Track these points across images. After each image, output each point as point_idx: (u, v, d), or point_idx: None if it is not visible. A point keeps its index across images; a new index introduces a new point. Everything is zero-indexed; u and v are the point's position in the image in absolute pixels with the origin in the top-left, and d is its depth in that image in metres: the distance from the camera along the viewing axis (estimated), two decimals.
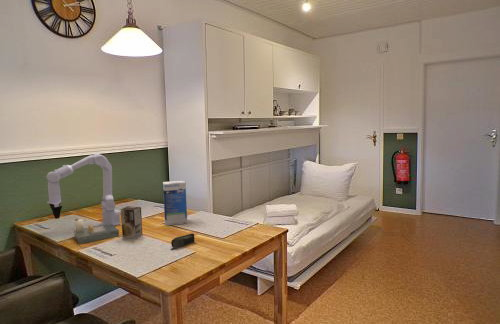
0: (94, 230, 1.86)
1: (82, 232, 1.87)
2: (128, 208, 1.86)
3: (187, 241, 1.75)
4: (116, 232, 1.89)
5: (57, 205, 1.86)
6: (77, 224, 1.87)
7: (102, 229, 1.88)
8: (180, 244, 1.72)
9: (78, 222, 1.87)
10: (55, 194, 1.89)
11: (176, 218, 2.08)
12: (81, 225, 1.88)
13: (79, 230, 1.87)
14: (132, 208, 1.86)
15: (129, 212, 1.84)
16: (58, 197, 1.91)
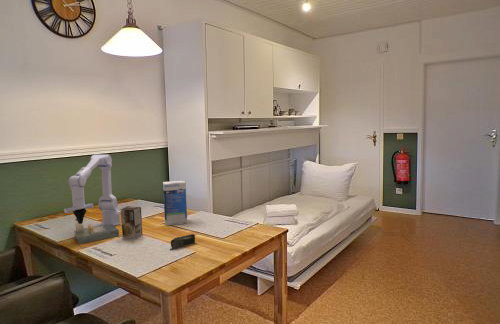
0: (94, 230, 1.86)
1: (82, 232, 1.87)
2: (128, 208, 1.86)
3: (187, 242, 1.74)
4: (116, 232, 1.89)
5: (65, 211, 1.75)
6: (77, 224, 1.87)
7: (102, 229, 1.88)
8: (179, 245, 1.71)
9: None
10: (73, 199, 1.78)
11: (176, 218, 2.08)
12: (81, 225, 1.88)
13: (79, 230, 1.87)
14: (132, 208, 1.86)
15: (129, 212, 1.84)
16: (75, 203, 1.78)
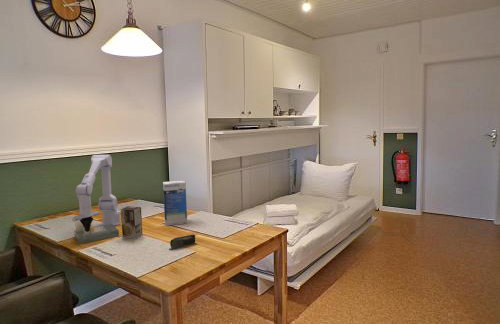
0: (94, 230, 1.87)
1: (82, 232, 1.87)
2: (128, 208, 1.86)
3: (187, 242, 1.74)
4: (116, 232, 1.89)
5: (73, 220, 1.77)
6: (77, 224, 1.87)
7: (102, 229, 1.88)
8: (179, 245, 1.71)
9: (78, 222, 1.87)
10: (80, 208, 1.80)
11: (176, 218, 2.08)
12: (81, 225, 1.88)
13: (79, 230, 1.87)
14: (132, 208, 1.86)
15: (129, 212, 1.84)
16: (83, 212, 1.80)
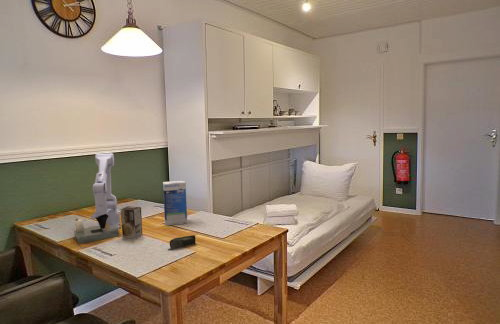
0: (110, 227, 1.91)
1: (82, 232, 1.87)
2: (128, 208, 1.86)
3: (186, 243, 1.73)
4: (116, 232, 1.89)
5: (92, 217, 1.81)
6: (77, 224, 1.87)
7: (117, 226, 1.93)
8: (178, 245, 1.71)
9: (78, 222, 1.87)
10: (97, 205, 1.84)
11: (176, 218, 2.08)
12: (81, 225, 1.88)
13: (79, 230, 1.87)
14: (132, 208, 1.86)
15: (129, 212, 1.84)
16: (100, 209, 1.85)
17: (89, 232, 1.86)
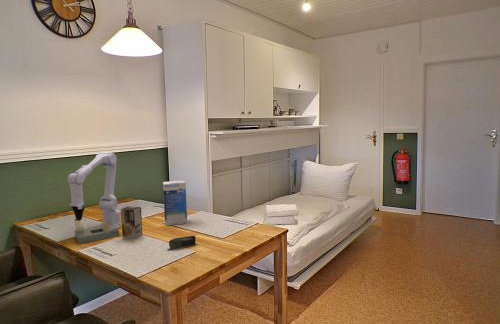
0: (109, 227, 1.91)
1: (82, 232, 1.87)
2: (128, 208, 1.86)
3: (186, 243, 1.72)
4: (116, 232, 1.89)
5: (80, 207, 1.82)
6: (77, 224, 1.86)
7: (117, 226, 1.93)
8: (178, 245, 1.70)
9: (78, 222, 1.86)
10: (78, 196, 1.84)
11: (176, 218, 2.08)
12: (81, 225, 1.88)
13: (79, 230, 1.87)
14: (132, 208, 1.86)
15: (129, 212, 1.84)
16: (81, 199, 1.86)
17: (89, 232, 1.86)
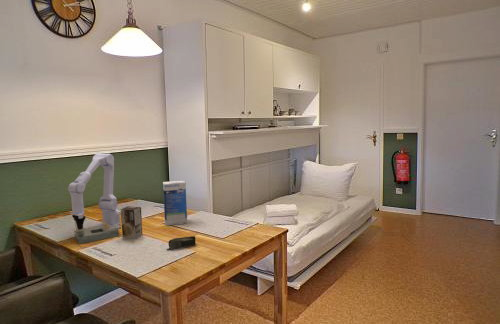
0: (109, 227, 1.91)
1: (82, 232, 1.87)
2: (128, 208, 1.86)
3: (185, 244, 1.72)
4: (116, 232, 1.89)
5: (81, 216, 1.82)
6: None
7: (117, 226, 1.93)
8: (177, 246, 1.70)
9: None
10: (79, 205, 1.85)
11: (176, 218, 2.08)
12: None
13: (79, 230, 1.87)
14: (132, 208, 1.86)
15: (129, 212, 1.84)
16: (81, 208, 1.87)
17: (89, 232, 1.86)
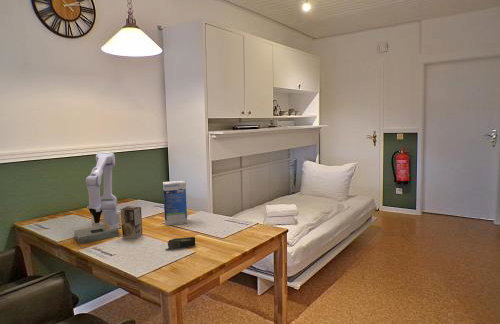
0: (109, 227, 1.91)
1: (82, 232, 1.87)
2: (128, 208, 1.86)
3: (185, 244, 1.71)
4: (116, 232, 1.89)
5: (99, 210, 1.81)
6: (93, 218, 1.85)
7: (117, 226, 1.93)
8: (176, 246, 1.70)
9: None
10: (96, 198, 1.84)
11: (176, 218, 2.08)
12: None
13: (95, 224, 1.86)
14: (132, 208, 1.86)
15: (129, 212, 1.84)
16: (98, 201, 1.85)
17: (89, 232, 1.86)
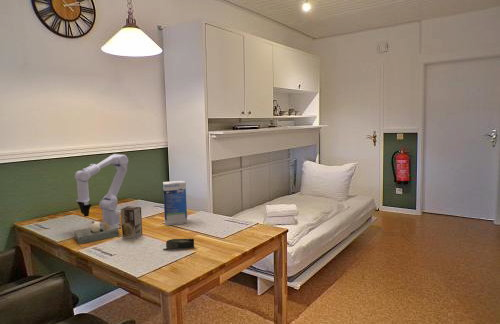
0: (109, 227, 1.91)
1: (82, 232, 1.87)
2: (128, 208, 1.86)
3: (182, 245, 1.69)
4: (116, 232, 1.89)
5: (87, 203, 1.91)
6: (93, 227, 1.86)
7: (117, 226, 1.93)
8: (174, 247, 1.69)
9: (94, 225, 1.85)
10: (84, 192, 1.94)
11: (176, 218, 2.08)
12: (97, 228, 1.86)
13: None
14: (132, 208, 1.86)
15: (129, 212, 1.84)
16: (87, 195, 1.95)
17: (89, 232, 1.86)
